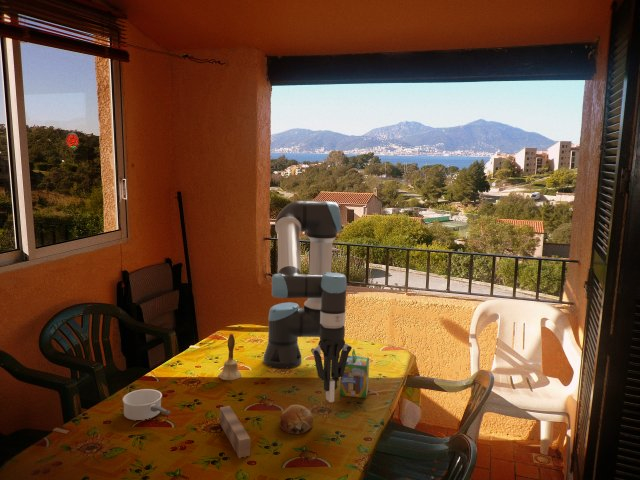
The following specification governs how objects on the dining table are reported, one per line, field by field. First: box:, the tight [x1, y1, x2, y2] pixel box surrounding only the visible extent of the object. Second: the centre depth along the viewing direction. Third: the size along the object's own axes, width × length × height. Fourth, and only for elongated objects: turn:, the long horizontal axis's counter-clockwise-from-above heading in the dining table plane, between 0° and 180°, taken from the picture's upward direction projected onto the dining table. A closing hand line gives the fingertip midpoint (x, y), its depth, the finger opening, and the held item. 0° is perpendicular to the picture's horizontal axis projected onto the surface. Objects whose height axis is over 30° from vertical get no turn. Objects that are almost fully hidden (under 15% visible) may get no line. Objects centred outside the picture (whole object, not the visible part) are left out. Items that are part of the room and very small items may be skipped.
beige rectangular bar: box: [219, 405, 251, 459], centre depth 139 cm, size 20×3×5 cm, turn 26°
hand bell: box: [218, 333, 243, 381], centre depth 182 cm, size 8×8×16 cm
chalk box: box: [339, 348, 370, 399], centre depth 172 cm, size 9×9×15 cm
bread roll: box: [279, 404, 314, 435], centre depth 148 cm, size 10×10×8 cm
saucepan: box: [121, 388, 172, 421], centre depth 149 cm, size 12×20×6 cm, turn 50°
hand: (329, 400), depth 151 cm, fingers closed
